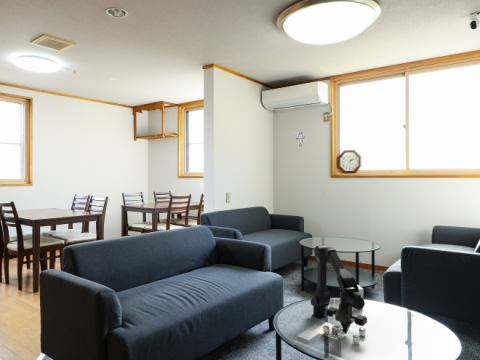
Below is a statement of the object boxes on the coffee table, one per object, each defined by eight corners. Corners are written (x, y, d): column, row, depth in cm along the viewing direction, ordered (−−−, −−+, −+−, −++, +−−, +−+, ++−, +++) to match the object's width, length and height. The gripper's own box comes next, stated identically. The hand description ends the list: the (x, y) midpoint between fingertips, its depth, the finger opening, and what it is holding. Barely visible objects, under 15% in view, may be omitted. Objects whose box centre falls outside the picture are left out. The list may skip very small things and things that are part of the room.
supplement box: (345, 305, 205) (346, 284, 205) (357, 305, 206) (358, 284, 205) (350, 310, 198) (351, 288, 197) (363, 310, 198) (363, 288, 198)
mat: (313, 332, 169) (313, 331, 169) (325, 324, 179) (325, 322, 179) (357, 348, 155) (357, 346, 155) (367, 337, 165) (367, 336, 165)
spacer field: (321, 334, 166) (322, 326, 166) (333, 325, 176) (333, 318, 176) (357, 346, 155) (358, 339, 155) (367, 336, 165) (368, 329, 165)
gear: (329, 333, 167) (329, 327, 167) (334, 329, 172) (334, 323, 172) (340, 337, 164) (341, 330, 164) (345, 332, 168) (345, 326, 168)
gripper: (321, 301, 165) (320, 333, 165) (359, 312, 153) (358, 346, 153) (331, 295, 173) (330, 325, 174) (367, 304, 161) (367, 337, 162)
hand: (345, 333), depth 165 cm, fingers closed
